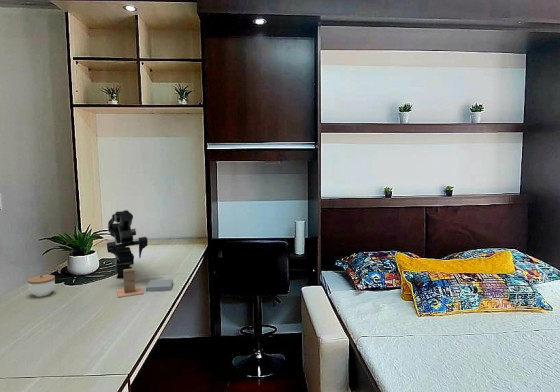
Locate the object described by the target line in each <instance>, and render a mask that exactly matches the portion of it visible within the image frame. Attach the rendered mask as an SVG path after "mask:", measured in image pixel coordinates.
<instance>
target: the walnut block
mask: <svg viewBox="0 0 560 392" xmlns="http://www.w3.org/2000/svg"><path fill="white" fill-rule="evenodd" d="M135 271H136V270H135V269H134V268H133V267H132V269H124V270H123V275H124V278H123V288H124V292H125V293H131V292H135V287H136V277H135V276H136V275H135Z"/></svg>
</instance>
